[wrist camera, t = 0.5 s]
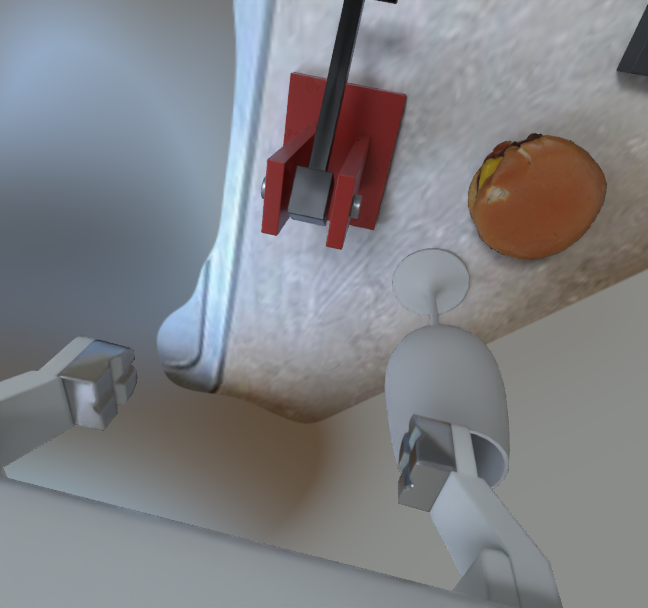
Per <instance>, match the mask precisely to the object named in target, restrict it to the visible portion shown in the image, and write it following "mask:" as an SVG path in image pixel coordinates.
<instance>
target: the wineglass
mask: <svg viewBox="0 0 648 608" xmlns="http://www.w3.org/2000/svg"><path fill="white" fill-rule="evenodd" d="M392 285H393V292H394V294H395V296H396V298H397V300H398V301H399V302H400V304H401V305H402V306H404V307H405V308H406V309H408V310H410V311H412V312H414V313H417V314H421V315H429V316H430V326H425V327H423V328H420V329H417V330H415V331H413V332H412V333H410V334H408V335H407V336H406V337H405V338H404V339H403V340H402V341H401V342H400V343H399V344H398V345H397V347H396V348H395V349H394V351H393V353H392V355H391V356H390V358H389V362H388V366H387V372H386V377H385V397H386V406H387V414H388V422H389V428H390V434H391V440H392V446H393V451H394V455H395V459H396V463H397V467H398V466H399V451H400V446H401V442H402V439H403V436H404V434H405V433H407V432H408V431H409V421H410V419H411V417H412V415H413V414H416V415H421V416H425V417H430V418H434V419H438V420H443V421H447V422H452V423H456V424H461V425H465V426H468V428H469V429H470V434H471V439H472V445H473V451H474V456H475V462H476V467H477V473H478V477H479V478H482V479H484V480H485V481H486V482H487V484H488V485H489V486H490V487H491V489H492V490H493V489H494V488H496V487H497V486H499V484H500V483H501V482H502V481H503V480H504V479H505V477H506V475H507V473H508V470H509V452H510V447H509V446H510V445H509V420H508V410H507V403H506V394H505V388H504V383H503V380H502V377H501V373H500V370H499V367H498V364H497V362H496V360H495V358H494V356H493V354H492V353H491V351H490V350H489V348H488V347H487V346H486V345H485V344H484V343H483V342H482V341H480V340H479V339H478V338H477V337H476V336H474V335H473V334H472V333H471V332H468V331H466V330H464V329H462V328H460V327H456V326H451V325H439V318H438V314H441V313H444V312H447V311H449V310H451V309H452V308H454V307H455V306H457V305H458V304H459V303H460V302H461V301H462V300H463V298H464V296H465V295H466V293H467V290H468V286H469V275H468V272H467V269H466V267H465V265H464V264H463V262H462V261H461V260H460V259H459V258H458V257H457V256H455V255H454V254H452V253H450V252H448V251H445V250H440V249H424V250H420V251H417V252H414V253H412V254H410V255H409V256H407V257H406V258H405V259H403V260H402V261H401V263H400V264H399V265H398V266H397V268H396V270H395V272H394V275H393V281H392ZM398 470H399V472H400V474H402V472H401V470H400V469H399V467H398Z"/></svg>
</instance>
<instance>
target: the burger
mask: <svg viewBox="0 0 648 608" xmlns="http://www.w3.org/2000/svg"><path fill="white" fill-rule="evenodd" d="M606 188H607V183H606V179H605V176H604V173H603V172H602V170H601V168H600V167H599V165H598V164H597V163H596V162H595V161H594V159H593V158H592V157H591V156H590V155H589V153H588V152H586V151H585V150H584V149H582V148H581V147H579V146H577V145H576V144H574V142H572V141H571V140H570V141H568V140H566V139H563V138H560V137H556V136H549V135H545V136H543V135H542V134H537V133H534V134H530V135H529V136H528V138H527V139H526V140H524V141H519V142H513V143H512V144H511V141H505V142H503V143H501V144H499V145H497V146H496V147H495V148H494V149H493V152H492V153H491V154H489V155H488V156H487V157H486V159H485V160H484V163H483V165H482V166H481V168H480V169H479V171H477V172H476V174H475V176H474V177H473V180H472V182H471V184H470V187H469V192H468V197H469V198H468V207H469V208H470V214H471V217H472V219H473V222H474V224H475V225H476V227H477V230H478V233H479V236H480V238H481V240H482V241H483V242H485V244H487V245H488V246H489V247H490V248H491V249H494V250H497V252H499V253H501V254H503V255H507V256H510V257H513V258H517V259H539V258H544V257H547V256H550V255H553V254H556V253H559V252H561V251H563V250H565V249H566V248H568V247H569V246H570V245H572V244H573V243H575V242H576V241H578V240H579V239H580V238H581V237H582V236H583V235H584V234H585V233H586V231H587V230H588V229H589V228H590V226H591V224H592V223H593V222H594V220H595V219H596V217H597V215H598V213H599V211H600V209H601V207H602V205H603V203H604V200H605V194H606Z"/></svg>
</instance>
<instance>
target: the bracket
mask: <svg viewBox="0 0 648 608" xmlns="http://www.w3.org/2000/svg"><path fill="white" fill-rule="evenodd" d="M326 82H327V79H326V78H321V77H316V76H311V75H306V74H301V73H296V72H294V73H291V76H290V85H289V95H288V105H287V115H286V125H285V134H284V144H283V147H282V148H281V149H279V150H278V151H277V152H276V153H275V154H273V155H272V156H271V157H270V158H268V160H267V171H266V176H265V178H264V180H263V183H262V189H261V196H262V198H263V199H264V206H263V218H262V230H261V232H262V233H266V234H271V235H275V236H277V235H278V234H279V232H280V231H281V229H282V228H283V226H284V225H285V223H286V222H287V220H288V219H289V217H290V215H289V214H288V213H287V209H288V205H289V200H290V195H291V191H292V186H293V181H294V177H295V172H296V167H297V166H303V167H308V165H309V160H310V156H311V151H312V147H313V142H314V137H315V133H316V128H317V124H318V119H319V114H320V110H321V105H322V100H323V96H324V91H325V87H326ZM405 100H406V94H402V93H397V92H392V91H387V90H382V89H377V88H372V87H367V86H362V85H357V84H352V83H347V85H346V89H345V94H344V98H343V103H342V107H341V112H340V117H339V121H338V126H337V130H336V135H335V139H334V144H333V149H332V153H331V158H330V162H329V167H328V171H327V172H332V173H333V174H334V181H335V185H334V190H333V194H332V199H331V203H330V208H329V213H328V217H327V220H329V221H330V224H329V230H328V236H327V241H326V247H331V248H335V249H340V250H342V247H343V244H344V241H345V237H346V234H347V231H348V227H349V225H352V226H357V227H361V228H366V229H371V230H374V228H375V224H376V220H377V216H378V212H379V208H380V203H381V199H382V195H383V191H384V187H385V183H386V179H387V175H388V170H389V166H390V162H391V158H392V154H393V150H394V146H395V142H396V137H397V133H398V129H399V125H400V121H401V117H402V113H403V109H404V104H405Z"/></svg>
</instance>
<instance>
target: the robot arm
mask: <svg viewBox="0 0 648 608" xmlns="http://www.w3.org/2000/svg"><path fill="white" fill-rule="evenodd" d="M134 360H135V355H134V350H133V349H131V348H129V347H125V346H120V345H117V344H113V343H109V342H105V341H102V340H97V339H92V338H89V337H85V336H79V337H76V338H75V339H74V340H73V341H71V342H70V343H69V344H68V345H67V346H66V347H65V348H64V349H62V350H61V351H60V352H59V353H58V354H57V355H56V356H55V357H53V358H52V359H51V360H50V361H49V362H48V363H47V364H46V365H45V366H43V367H42V368H41V369H40V370H39V371H38V372H37V371H30V372H27V373H24V374H21V375H18V376H15V377H13V378H10V379H7V380H4V381H1V382H0V608H563V607H562V603H561V600H560V596H559V593H558V589H557V586H556V582H555V579H554V575H553V571H552V568H551V564H550V562H549V560H548V559H547V558H546V557H545V555H544V554H543V553H542V551H541V550H540V549H539V548H538V546H537V545H536V544H535V543H534V542H533V540H532V539H531V538H530V536H529V535H528V534H527V533H526V531H525V530H524V529H523V528H522V526H521V525H520V524H519V523H518V522H517V520H516V519H515V518H514V516H513V515H512V514H511V512H510V511H509V510H508V509H507V507H506V506H505V505H504V504H503V502H502V501H501V500H500V499H499V497H498V496H497V495H496V494H495V492H494V491H493V490H492V489H491V487H490V486H489V485H488V484H487V482H486V481H485V480H484V479H482V478H479V477H478V473H477V467H476V462H475V456H474V451H473V445H472V439H471V434H470V429H469V428H468V426H465V425H461V424H456V423H452V422H447V421H443V420H438V419H434V418H430V417H425V416H421V415H416V414H413V415H412V417H411V419H410V421H409V431H408V432H407V433H405V434H404V436H403V439H402V442H401V446H400V451H399V466H398V467H399V469H400V470H401V472H402V474H401V476H400V479H399V481H398V504H402V505H405V506H409V507H412V508H416V509H420V510H423V511H427V512H429V515H430V517H431V519H432V521H433V523H434V524H435V526H436V528H437V530H438V532H439V534H440V536H441V538H442V540H443V542H444V544H445V545H446V547H447V549H448V551H449V553H450V555H451V557H452V559H453V561H454V563H455V565H456V566H457V568H458V570H459V572H460V574H461V576H462V578H461V580H460V581H459V583H458V584H457V585H456V586H455V588H454V589H453V590H452V591H449V590H445V589H441V588H438V587H434V586H429V585H425V584H421V583H417V582H414V581H410V580H406V579H402V578H398V577H394V576H390V575H387V574H383V573H379V572H375V571H371V570H367V569H363V568H359V567H355V566H351V565H347V564H343V563H339V562H335V561H332V560H327V559H324V558H320V557H316V556H312V555H308V554H304V553H300V552H296V551H292V550H288V549H284V548H280V547H276V546H272V545H268V544H265V543H261V542H256V541H253V540H249V539H245V538H241V537H237V536H233V535H229V534H225V533H222V532H218V531H213V530H210V529H206V528H202V527H198V526H194V525H190V524H186V523H182V522H178V521H174V520H170V519H166V518H163V517H159V516H155V515H151V514H147V513H143V512H139V511H135V510H131V509H127V508H123V507H119V506H115V505H111V504H107V503H104V502H100V501H95V500H91V499H88V498H84V497H80V496H76V495H72V494H68V493H65V492H61V491H57V490H53V489H49V488H44V487H41V486H37V485H33V484H29V483H25V482H21V481H17V480H14V479H9V478H7V476H6V474H5V471H4V469H3V467H5V466H6V465H8V464H10V463H12V462H13V461H15V460H16V459H19V458H20V457H22V456H24V455H25V454H27V453H29V452H31V451H32V450H34V449H36V448H37V447H39V446H41V445H43V444H44V443H46V442H48V441H50V440H51V439H53V438H55V437H57V436H58V435H60V434H62V433H64V432H65V431H67V430H69V429H71V428H72V427H74V425H77V426H82V427H87V428H91V429H96V430H101V431H104V430H105V429H106V427H107V426H108V425H109V424H110V422H111V421H112V420H113V418H114V417H115V416H116V414H117V413H118V412H117V406H118V405H120V404H122V403H124V402H127V400H128V399H129V398H130V396H131V395H132V393H133V391H134V389H135V386H136V383H137V370H136V369H135V368H134V366H133V365H132V364H131V363H132V362H133V361H134Z"/></svg>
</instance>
